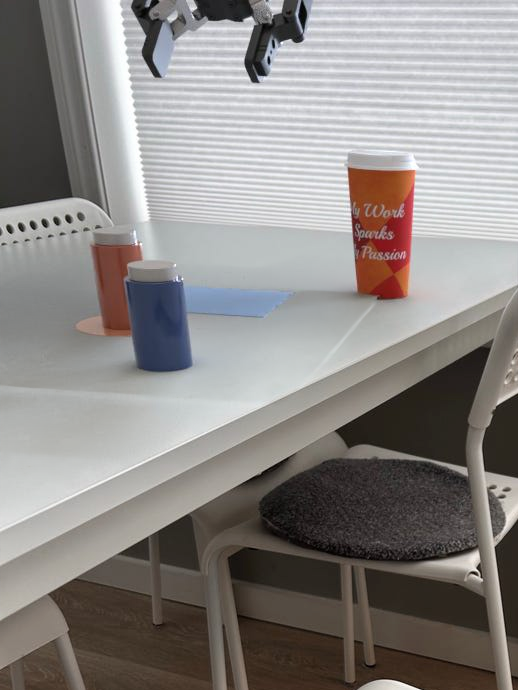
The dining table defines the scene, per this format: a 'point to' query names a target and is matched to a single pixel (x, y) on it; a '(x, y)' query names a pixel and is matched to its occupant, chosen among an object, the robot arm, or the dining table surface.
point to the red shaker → (113, 272)
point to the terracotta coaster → (100, 328)
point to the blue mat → (232, 301)
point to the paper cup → (382, 219)
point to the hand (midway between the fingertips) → (202, 72)
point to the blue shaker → (158, 316)
